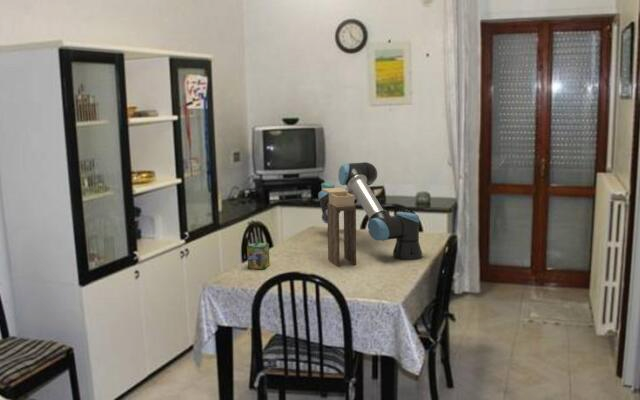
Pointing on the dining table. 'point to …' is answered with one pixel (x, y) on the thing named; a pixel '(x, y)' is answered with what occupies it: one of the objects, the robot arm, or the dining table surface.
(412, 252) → the robot arm
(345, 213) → the walnut stand
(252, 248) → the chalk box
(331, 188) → the mailer lid
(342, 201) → the kraft mailer box
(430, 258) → the dining table surface
